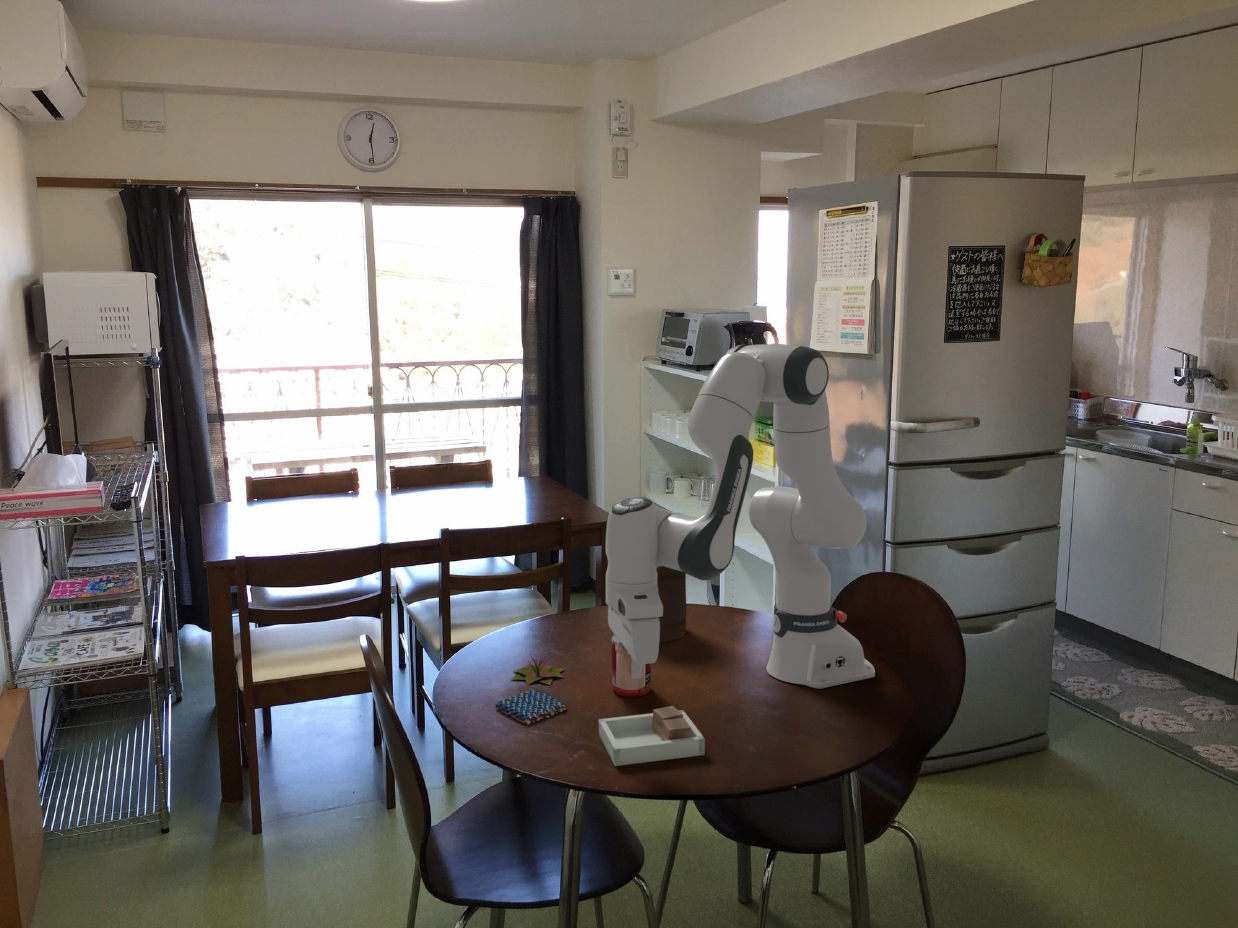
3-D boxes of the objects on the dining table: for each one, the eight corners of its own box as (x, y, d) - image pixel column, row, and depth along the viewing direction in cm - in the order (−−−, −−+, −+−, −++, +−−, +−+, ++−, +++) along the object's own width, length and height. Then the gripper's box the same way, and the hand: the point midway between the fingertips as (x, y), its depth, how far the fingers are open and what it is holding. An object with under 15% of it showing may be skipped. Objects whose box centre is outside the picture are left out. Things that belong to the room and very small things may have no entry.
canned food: (647, 699, 190) (647, 645, 188) (607, 695, 191) (607, 643, 189) (654, 683, 197) (654, 632, 195) (615, 680, 199) (615, 629, 197)
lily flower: (499, 684, 198) (499, 663, 197) (523, 663, 209) (522, 643, 208) (554, 692, 194) (554, 670, 193) (575, 670, 206) (574, 649, 205)
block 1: (672, 726, 176) (672, 705, 176) (682, 735, 173) (683, 714, 172) (652, 730, 175) (653, 709, 174) (662, 739, 171) (663, 718, 170)
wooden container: (656, 617, 237) (657, 530, 234) (698, 633, 226) (700, 542, 222) (610, 630, 228) (609, 540, 224) (651, 648, 217) (652, 553, 213)
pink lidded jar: (612, 679, 169) (612, 641, 168) (641, 676, 171) (641, 639, 170) (619, 691, 164) (619, 652, 163) (650, 688, 166) (650, 650, 164)
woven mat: (570, 711, 185) (570, 701, 185) (526, 728, 178) (526, 718, 178) (536, 695, 193) (535, 686, 192) (492, 711, 185) (492, 701, 185)
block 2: (683, 738, 171) (683, 717, 171) (690, 748, 168) (691, 727, 167) (662, 741, 170) (662, 720, 170) (668, 751, 167) (668, 729, 166)
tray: (682, 724, 178) (683, 709, 178) (704, 754, 167) (704, 738, 166) (598, 734, 174) (598, 719, 174) (614, 765, 163) (614, 749, 162)
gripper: (599, 577, 174) (599, 650, 176) (628, 613, 154) (628, 694, 157) (633, 574, 175) (632, 647, 178) (666, 610, 156) (665, 690, 158)
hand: (631, 669), depth 167 cm, fingers closed on pink lidded jar, 5 cm apart
